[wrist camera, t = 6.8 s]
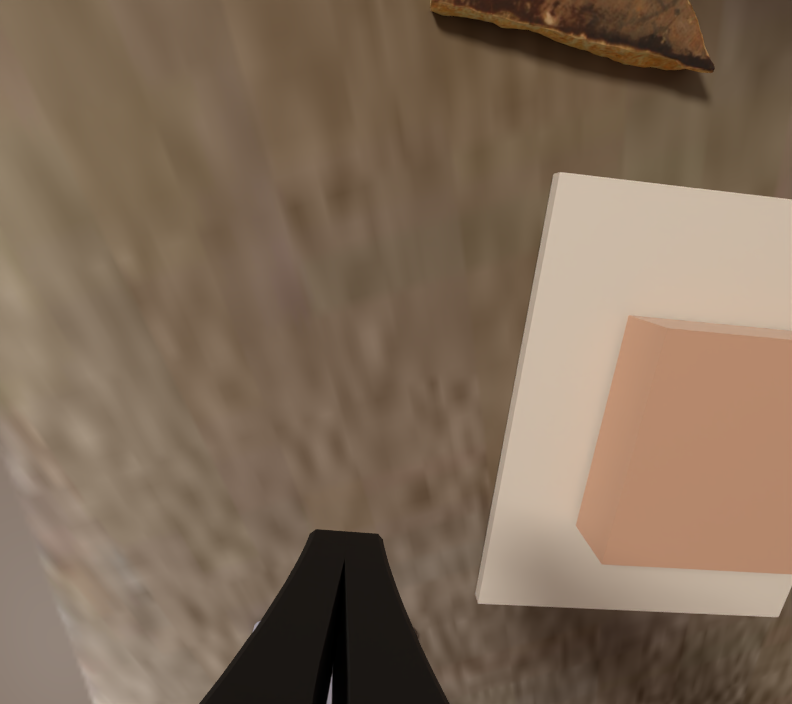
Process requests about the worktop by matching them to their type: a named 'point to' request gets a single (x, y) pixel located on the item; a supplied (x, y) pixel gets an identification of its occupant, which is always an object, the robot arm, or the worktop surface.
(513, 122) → the worktop surface
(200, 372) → the worktop surface
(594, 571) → the cutting board
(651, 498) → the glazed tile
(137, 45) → the worktop surface
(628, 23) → the shard
